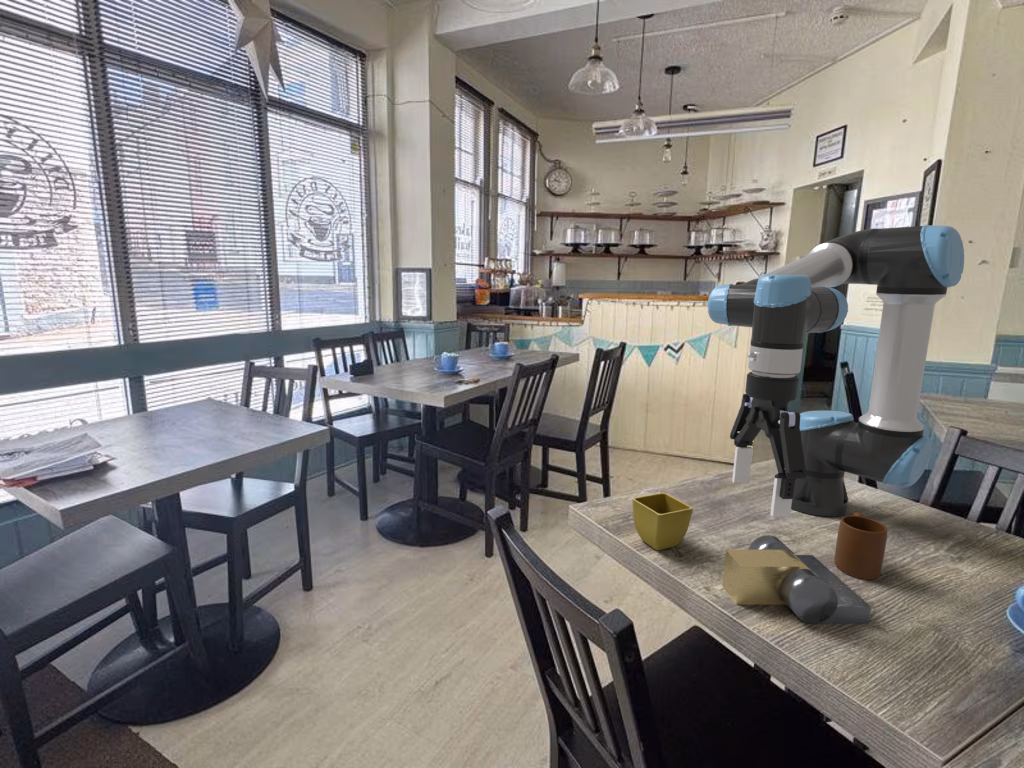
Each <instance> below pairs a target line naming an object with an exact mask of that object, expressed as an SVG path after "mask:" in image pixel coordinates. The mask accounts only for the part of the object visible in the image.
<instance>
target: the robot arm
mask: <svg viewBox="0 0 1024 768" xmlns="http://www.w3.org/2000/svg"><path fill="white" fill-rule="evenodd" d="M964 268H965V249H964V243H963V239H962V237H961V234H960V233H959V232H958V230H957V229H956V228H954V227H953V226H950V225H930V224H927V225H926V224H925V225H917V226H916V225H915V226H901V227H884V228H883V227H882V228H868V229H863V230H858V231H857V230H856V231H853V232H850V233H847V234H845V235H840V236H838V237H836V238H833V239H830V240H828V241H824V242H823V243H821V244H819V245H817V246H814V247H813V249H811V251H809V253H808V254H807V255H804V256H803V257H801V258H799V259H797V260H794V261H791V262H789V263H786V265H782V266H780V267H778V268H776V269H774V270H771V271H769V272H767V273H764V274H762V275H760V276H758V277H756V278H755V277H754V278H753V279H751V280H748V281H745V282H743V283H741V284H733V283H729V284H721V285H717V286H716V287H715V288H713V289H712V291H711V292H710V294H709V296H708V300H707V312H708V313H707V314H708V317H709V319H710V320H711V321H712V322H714V323H716V324H720V325H726V326H728V327H744V328H751V338H750V346H749V347H750V348H749V352H748V353H747V358H748V365H747V368H748V370H750V371H749V372H748V373H746V381H745V391H744V392H745V393H743V394H742V398H741V405H740V406H739V407H740V408H739V409H738V413H737V415H736V418H735V420H734V423H733V426H732V428H731V431H730V434H729V438H730V440H733V444H734V446H735V451H734V461H733V468H732V480H731V482H732V483H733V484H749V483H750V476H751V466H752V457H753V449H754V448H752V446H753V447H754V440H755V439H756V437H757V436H758V435H759V433H760V432H761V430H762V431H763V432H764V434H765V437H766V438H768V439H769V442H770V443H769V444H770V447H771V449H772V453H773V457H774V461H775V467H776V469H777V472H778V473H776V474H775V475H774V480H773V482H774V483H773V490H772V497H771V506H770V514H769V515H770V516H771V517H772V518H790V517H791V512H792V510H794V511H798V512H801V513H804V514H808V515H813V516H819V517H839V516H840V517H841V516H845V515H846V514H847V513H848V512H849V505H850V504H849V503H850V501H849V496H848V493H847V488H846V483H845V474H846V473H848V474H851V475H855V476H858V477H861V478H864V479H865V478H866V479H870V480H873V481H875V482H879V483H882V484H883V485H891V486H894V487H899V488H908V487H911V486H912V485H914V484H916V482H918V481H919V479H920V478H921V476H922V475H923V473H924V472H925V471H926V468H927V466H928V464H929V461H930V460H931V456H932V454H933V448H934V446H933V443H934V442H933V440H932V439H931V438H930V437H928V436H924V430H925V426H924V424H923V423H922V422H921V421H920V420H919V419H918V417H917V416H918V413H919V412H918V410H919V405H920V400H921V399H920V397H921V393H922V392H921V391H922V386H923V381H924V373H925V367H926V361H927V354H928V350H929V349H928V348H929V342H930V337H931V330H932V325H933V319H934V312H935V306H936V304H937V303H938V302H939V301H940V300H942V299H943V298H945V297H946V296H947V293H948V288H952V287H955V286H957V285H958V284H959V283H960V281H961V278H962V274H963V272H964ZM853 284H854V285H855V284H856V285H873V286H874V285H875V286H876V292H875V294H876V296H878V298H879V299H880V300H881V301H882V302H883V305H882V311H881V318H880V324H879V325H880V326H879V332H878V339H877V347H876V353H875V360H874V361H875V362H874V367H873V375H872V383H871V389H870V396H869V402H868V403H869V404H868V411H867V412H866V413H864V414H863V415H861V416H859V417H858V421H857V422H855V421H854V419H855V418H854V416H853V414H852V413H850V412H846V411H839V410H808V411H804V412H801V413H800V412H799V411H798V412H797V411H789V410H788V409H789V408H788V405H789V403H790V402H792V401H795V400H796V399H797V398H798V393H799V392H798V391H799V382H800V378H799V377H798V376H797V375H798V374H800V373H801V370H802V369H801V367H802V359H803V352H804V350H803V349H804V341H805V335H806V334H812V333H815V334H816V333H817V334H823V333H826V332H829V331H831V330H835V329H836V328H838V327H840V325H842V323H844V322H845V320H846V318H847V315H848V312H849V303H848V301H847V297H846V296H845V295H844V294H843V293H842V292H841V291H839V290H838V289H835V287H839V286H841V285H853Z"/></svg>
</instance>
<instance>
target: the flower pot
mask: <svg viewBox="0 0 1024 768" xmlns="http://www.w3.org/2000/svg"><path fill="white" fill-rule="evenodd" d="M631 500H632V516H633V517H632V518H633V523H634V527H635V529H636V532H637V533H638V536H639V538H640V539H641V541H643V542H644V543H645V544H647V545H648V546H650V547H651V548H653V549H654V550H656V551H661V550H665V549H666V550H667V549H670V548H674V547H676V546H678V545H679V543H681V542H682V540H683V539H684V538H685V536H686V534H687V532H688V529H689V526H690V523H691V519H692V515H693V511H694V510H693V509H694V507H692V506H690V505H689V504H686V503H685V502H683V501H681V500H679V499H677V498H676V497H673V496H672V495H670V494H668V493H666V492H658V493H653V494H648V495H641V496H636V497H633V498H631Z"/></svg>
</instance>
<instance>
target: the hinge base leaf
mask: <svg viewBox="0 0 1024 768" xmlns="http://www.w3.org/2000/svg"><path fill="white" fill-rule="evenodd" d="M747 550H787V551H790V552H792V553H793V554H794V555H795V556H796V557H797V558H799V559H800V560H801V561H802V562H803V563H804V564H805V565H806V566H807V567H808V568H809V569H810V570H809V569H798V570H795V571H792V572H791V573H789V574H788V575H787V576H786V577H785V578H784V579H783V581H782V583H781V585H780V595H781V598H782V599H783V601H784V602H785V603H786V604H785V605H786V606H787V607H789V609H791V611H792V612H793V613H794V615H795V616H796V617H797V618H799V620H801V621H802V622H804V623H807V624H811V625H812V624H813V625H814V624H869V623H870V622H869V621H870V614H871V608H872V606H871V605H870V604H869V602H867V601H866V600H864V599H863V598H862V597H861V596H860V595H859V594H857V593H856V592H855V591H854V590H853V589H852V588H851V587H850V586H848V585H847V584H846V583H845V582H844V581H843V580H842V579H840V578H839V577H838V576H837V575H836V574H834V573H835V572H832V571H831V569H829V568H828V567H827V566H826V565H825V564H823V563H822V562H821V561H820V560H819V559H818V558H817V557H815V556H814V555H813V554H795V552H793V550H792V549H790V548H789V547H788V546H787V545H786V544H785V543H784V542H783V541H782V540H781V539H780V538H778V537H776V536H774V535H769V534H768V535H767V534H766V535H762V536H759V537H758V538H757V537H756V539H754V540H753V541H752V542H751V543H750V545H749V547H748V549H747Z"/></svg>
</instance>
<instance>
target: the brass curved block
mask: <svg viewBox="0 0 1024 768" xmlns="http://www.w3.org/2000/svg"><path fill="white" fill-rule="evenodd" d="M792 552H793V551H792ZM792 552H790V551H787V550H748V549H726V550H725V558H724V567H723V575H722V588H723V589H724V590H725V592H726V593H727V594H728V596H730V598H731V599H732V601H733V602H734V604H735V605H743V606H744V605H746V606H747V605H750V606H751V605H755V604H756V605H758V604H759V605H760V606H761V605H787V604H786V603H785V602H784V601H783V599H782V598H781V595H780V585H781V583H782V581H783V579H784V578H785V577H786V576H787V575H788V574H789V573H791V572H792V571H795V570H798V569H809V568H808V567H807V566H806V565H805V564H804V563H803V562H802V561H801V560H800V559H799V558H797V557H796V556H795V555H796V554H795V553H794V552H793V553H794V554H795V555H794V554H793V553H792ZM809 570H810V569H809Z"/></svg>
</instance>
